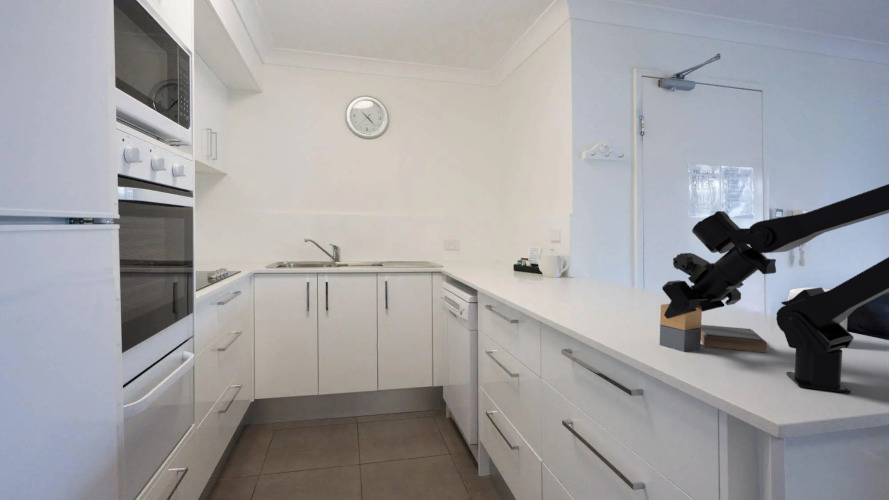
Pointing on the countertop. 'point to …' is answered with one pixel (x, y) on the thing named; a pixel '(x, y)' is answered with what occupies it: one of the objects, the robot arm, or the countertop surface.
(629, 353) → the countertop surface
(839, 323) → the robot arm
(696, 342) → the tan and grey block
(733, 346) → the walnut stand
